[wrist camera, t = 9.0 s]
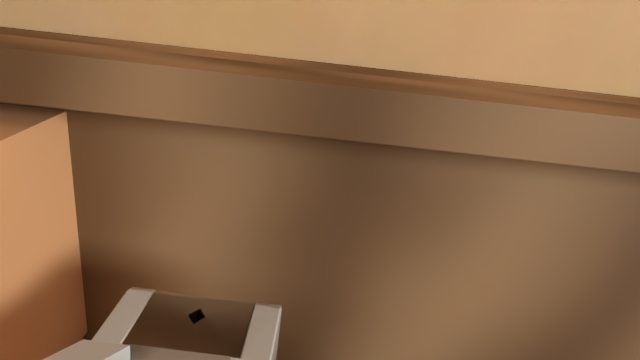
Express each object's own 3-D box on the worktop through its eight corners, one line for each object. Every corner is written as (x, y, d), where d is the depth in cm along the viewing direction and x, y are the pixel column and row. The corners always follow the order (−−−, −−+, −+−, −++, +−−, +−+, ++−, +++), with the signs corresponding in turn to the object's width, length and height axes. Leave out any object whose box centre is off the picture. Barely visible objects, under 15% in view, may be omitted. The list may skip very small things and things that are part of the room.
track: (-148, 321, 14) (-242, 386, 12) (-250, -1, 11) (-409, 2, 9) (724, 416, 14) (797, 499, 12) (887, 125, 11) (1033, 162, 9)
